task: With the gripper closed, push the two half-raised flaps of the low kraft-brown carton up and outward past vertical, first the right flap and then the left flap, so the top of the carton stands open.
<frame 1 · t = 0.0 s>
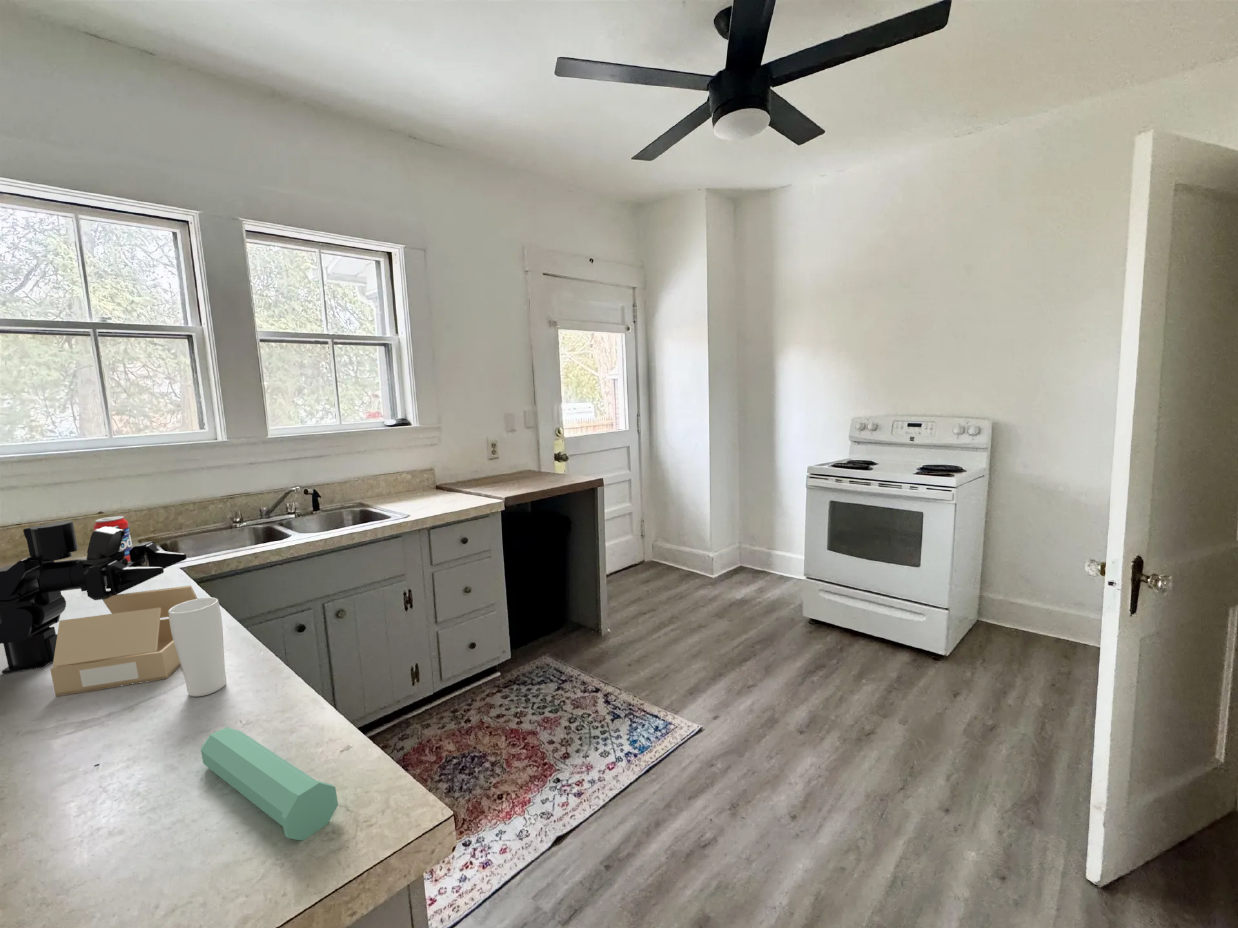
hand: (175, 563, 111), 17 cm above the worktop, tool horizontal, fingers open, 9 cm apart
soda can: (118, 566, 170), on the worktop
flap 1: (108, 636, 96), point 9 cm above the worktop, hinge at 62.0°
flap 2: (154, 604, 110), point 9 cm above the worktop, hinge at 62.0°
drinking glass: (208, 690, 94), on the worktop
carton: (141, 663, 104), on the worktop
green octagonal rod: (264, 793, 69), on the worktop
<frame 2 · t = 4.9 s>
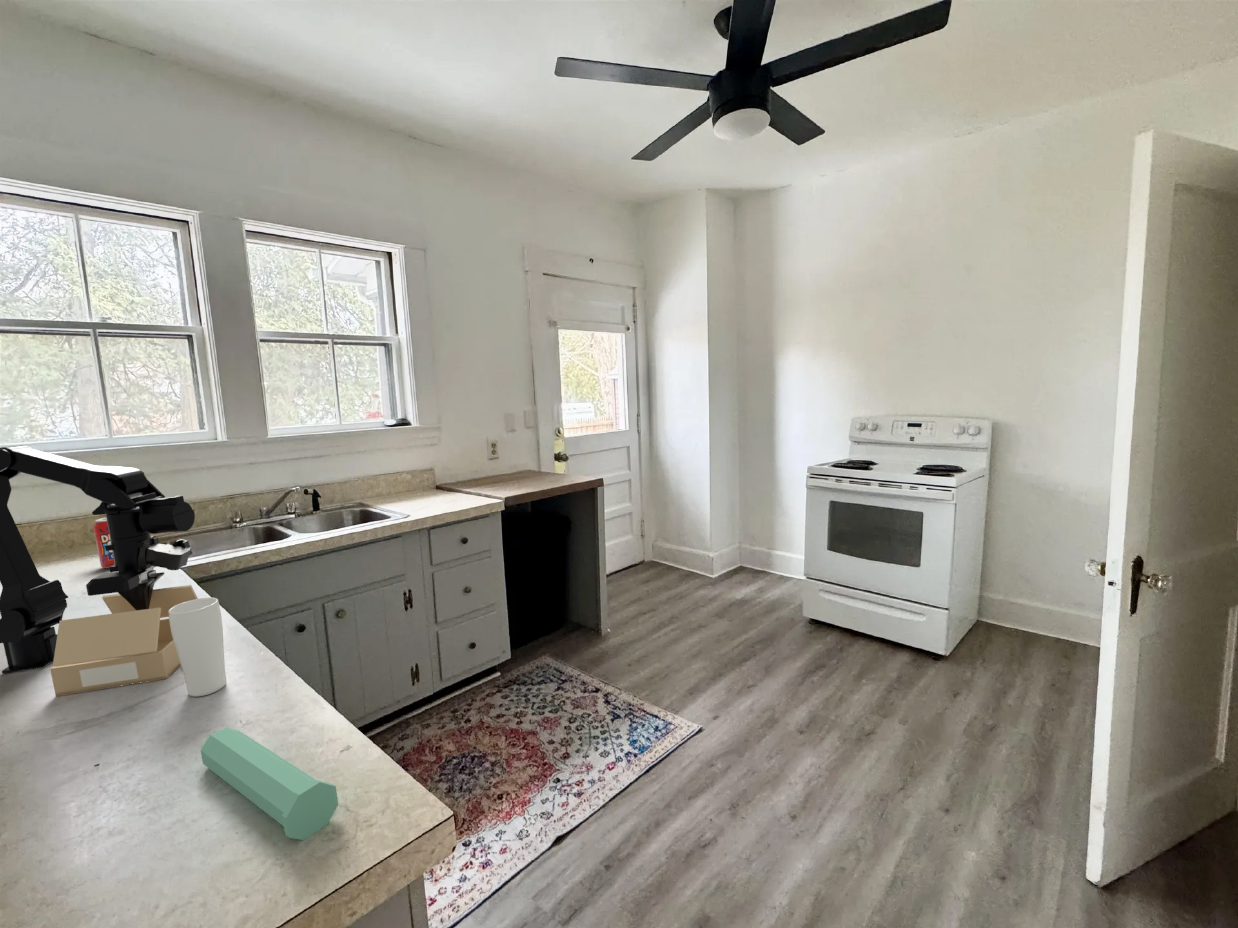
hand: (144, 614, 107), 8 cm above the worktop, tool pointing down, fingers closed
flap 2: (154, 604, 110), point 9 cm above the worktop, hinge at 63.2°, touching gripper
everything else where it was.
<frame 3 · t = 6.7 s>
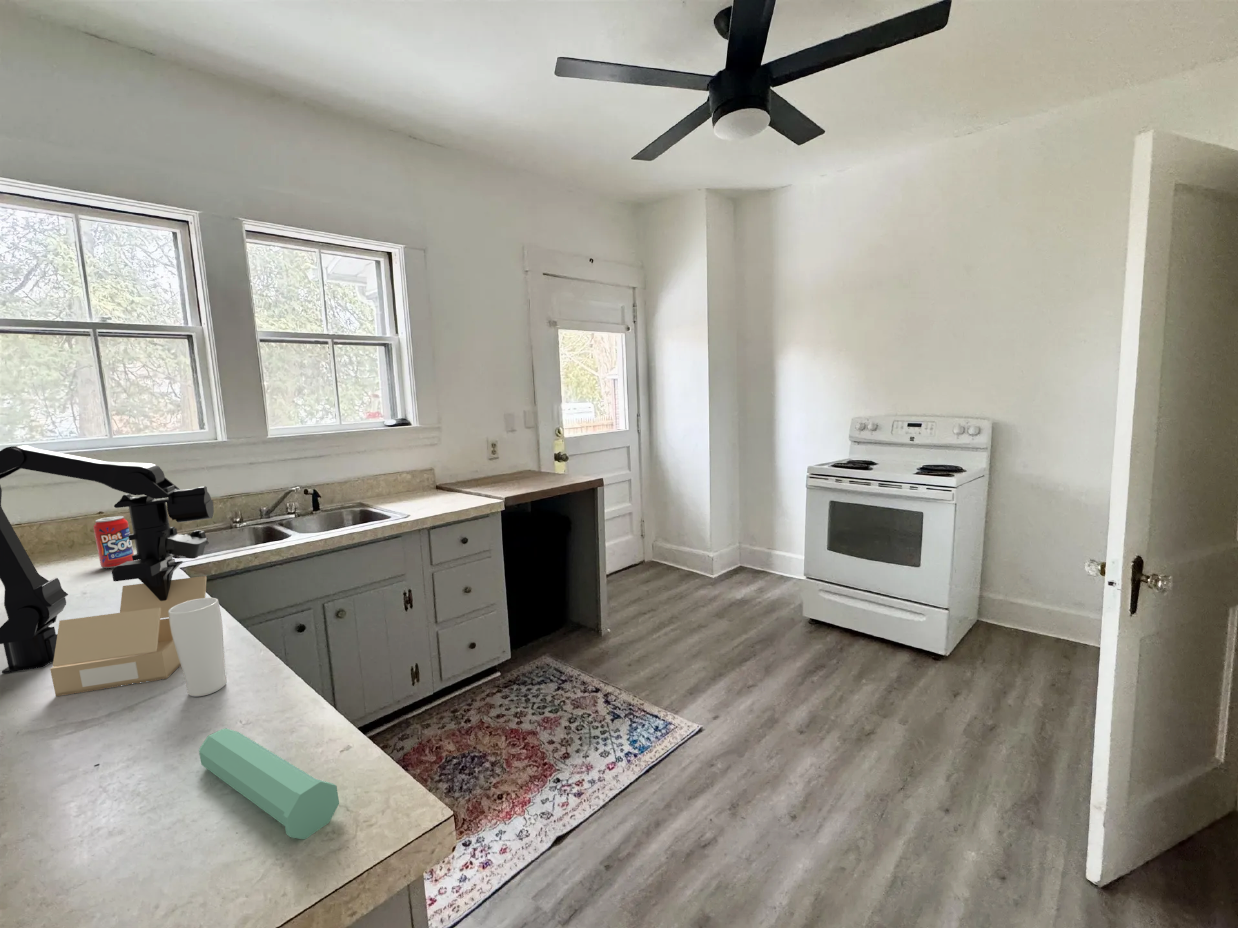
hand: (164, 600, 114), 8 cm above the worktop, tool pointing down, fingers closed, pressing on flap 2
flap 2: (163, 599, 114), point 9 cm above the worktop, hinge at 117.5°, touching gripper
everything else where it was.
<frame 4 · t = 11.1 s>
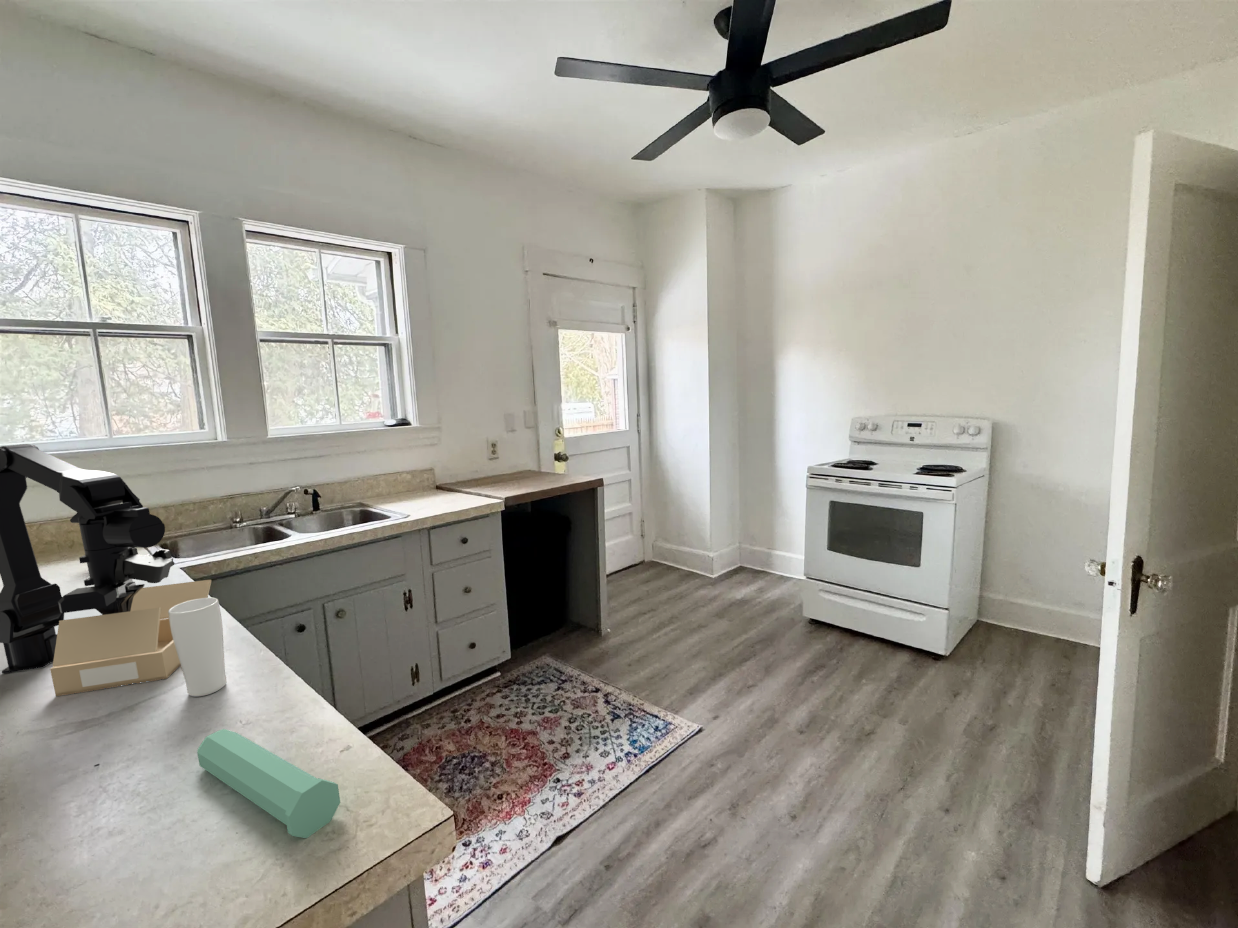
hand: (122, 629, 100), 8 cm above the worktop, tool pointing down, fingers closed
flap 1: (108, 636, 96), point 9 cm above the worktop, hinge at 62.5°, touching gripper
flap 2: (166, 601, 115), point 8 cm above the worktop, hinge at 135.7°
everything else where it was.
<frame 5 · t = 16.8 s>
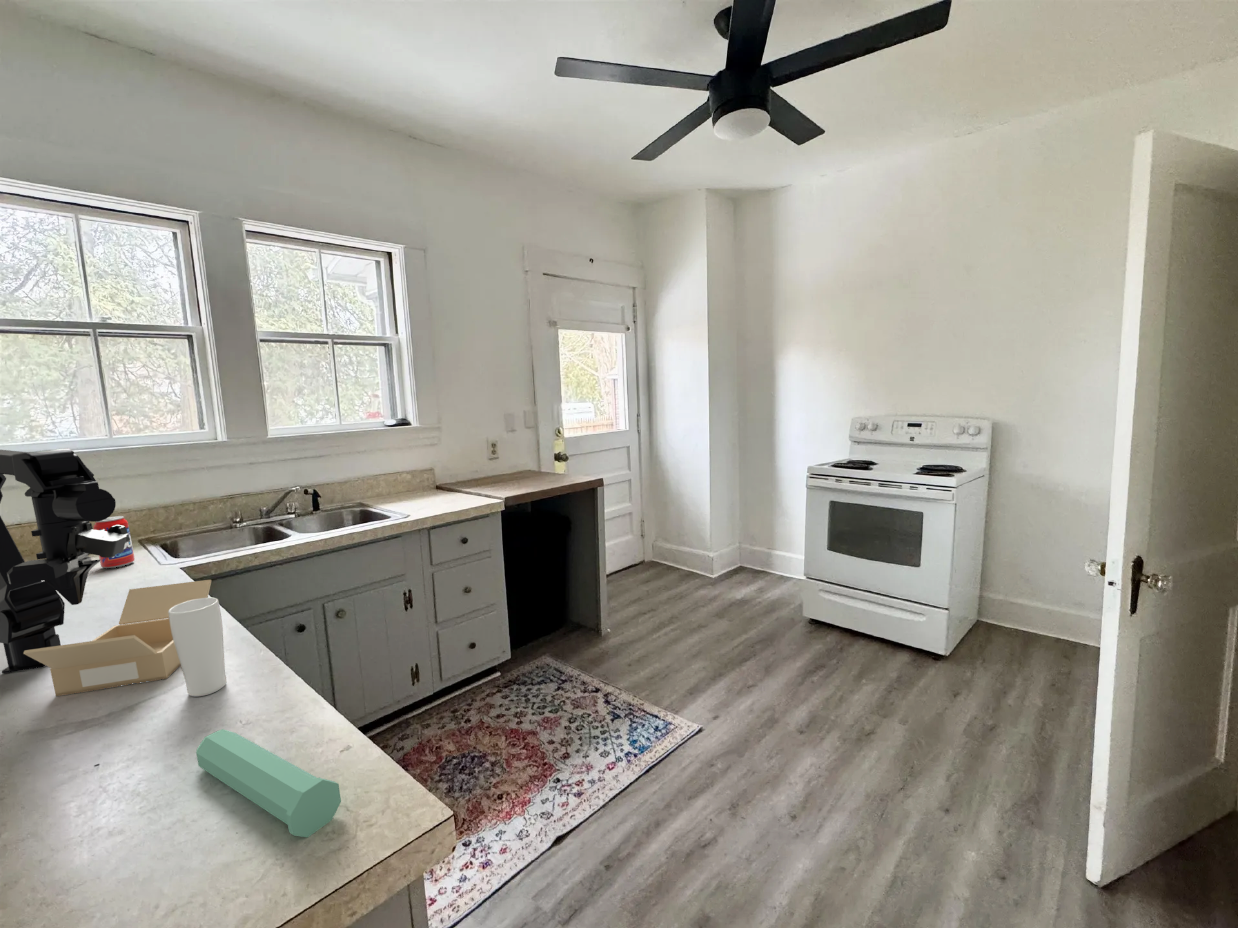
hand: (76, 603, 100), 13 cm above the worktop, tool pointing down, fingers closed
flap 1: (93, 652, 92), point 8 cm above the worktop, hinge at 134.4°
everything else where it was.
at the end: flap 2 at +136° (first picture: +62°); flap 1 at +134° (first picture: +62°) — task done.
